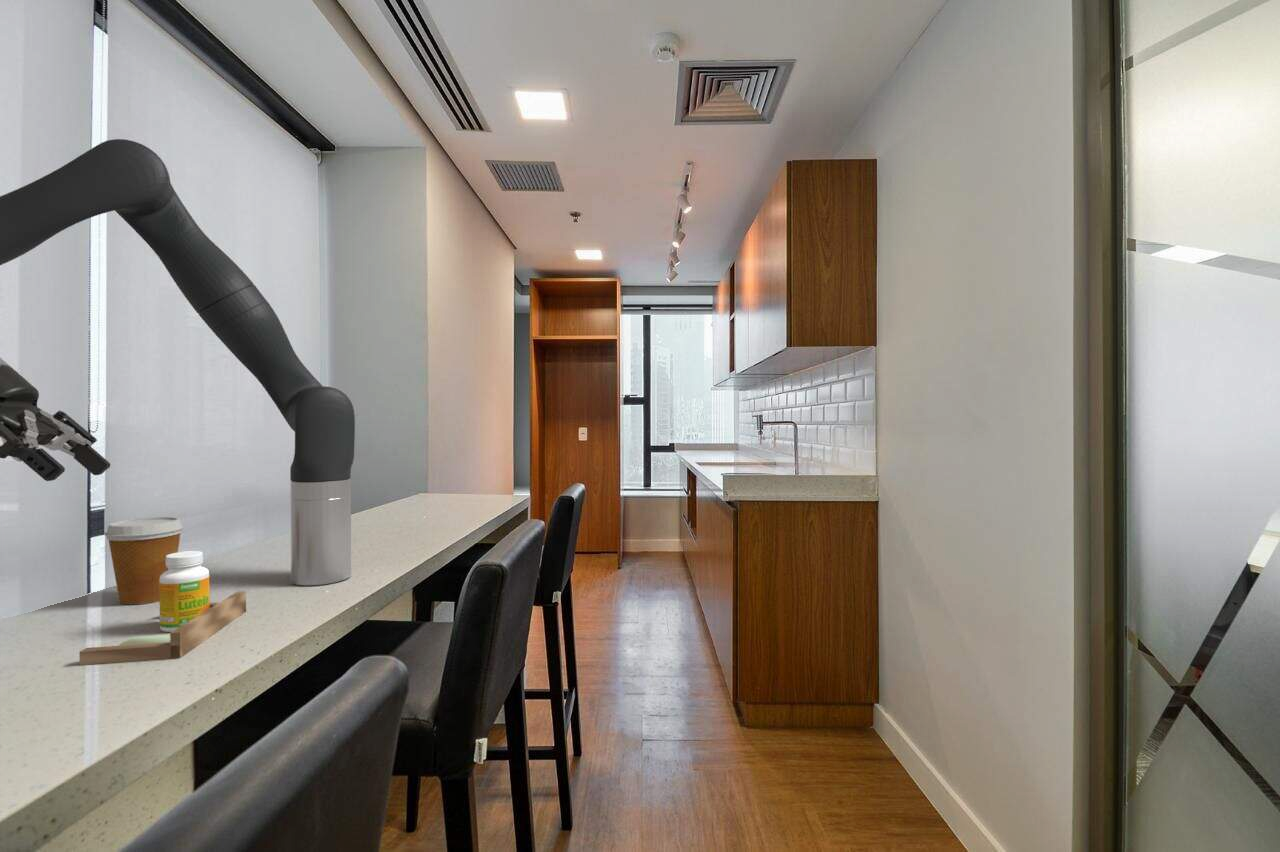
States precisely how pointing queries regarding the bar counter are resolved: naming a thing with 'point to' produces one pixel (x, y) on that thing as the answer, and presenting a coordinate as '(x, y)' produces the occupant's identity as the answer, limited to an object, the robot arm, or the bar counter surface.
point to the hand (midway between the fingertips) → (82, 473)
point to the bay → (171, 636)
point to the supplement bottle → (183, 590)
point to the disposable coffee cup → (142, 555)
